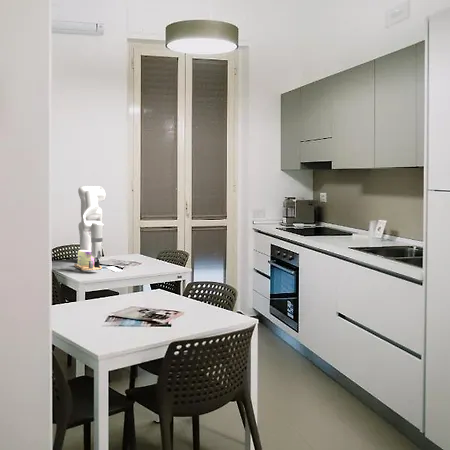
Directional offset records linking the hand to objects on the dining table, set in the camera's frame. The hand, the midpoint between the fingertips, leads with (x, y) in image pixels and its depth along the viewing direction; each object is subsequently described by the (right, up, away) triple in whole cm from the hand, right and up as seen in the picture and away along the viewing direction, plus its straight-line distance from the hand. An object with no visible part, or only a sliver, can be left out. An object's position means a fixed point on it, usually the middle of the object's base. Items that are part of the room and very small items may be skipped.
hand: (96, 267), depth 398 cm
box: (-13, -2, +23) cm, 27 cm away
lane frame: (-11, -2, +20) cm, 23 cm away
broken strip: (+9, -3, +15) cm, 18 cm away
